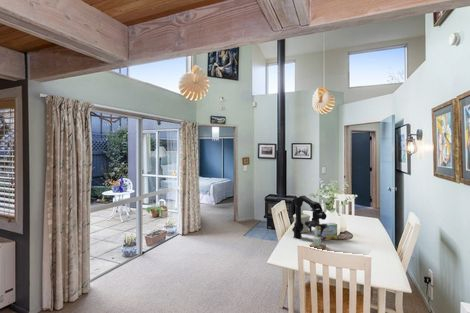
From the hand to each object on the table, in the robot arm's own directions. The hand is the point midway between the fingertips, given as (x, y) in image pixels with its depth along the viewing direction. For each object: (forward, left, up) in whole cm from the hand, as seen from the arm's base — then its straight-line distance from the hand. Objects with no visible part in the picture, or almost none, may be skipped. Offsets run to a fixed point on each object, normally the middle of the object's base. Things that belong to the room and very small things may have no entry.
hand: (315, 234), depth 226 cm
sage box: (+2, -1, -9) cm, 9 cm away
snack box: (0, +24, -12) cm, 27 cm away
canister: (-29, +32, -12) cm, 45 cm away
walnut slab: (+2, -1, -12) cm, 12 cm away
